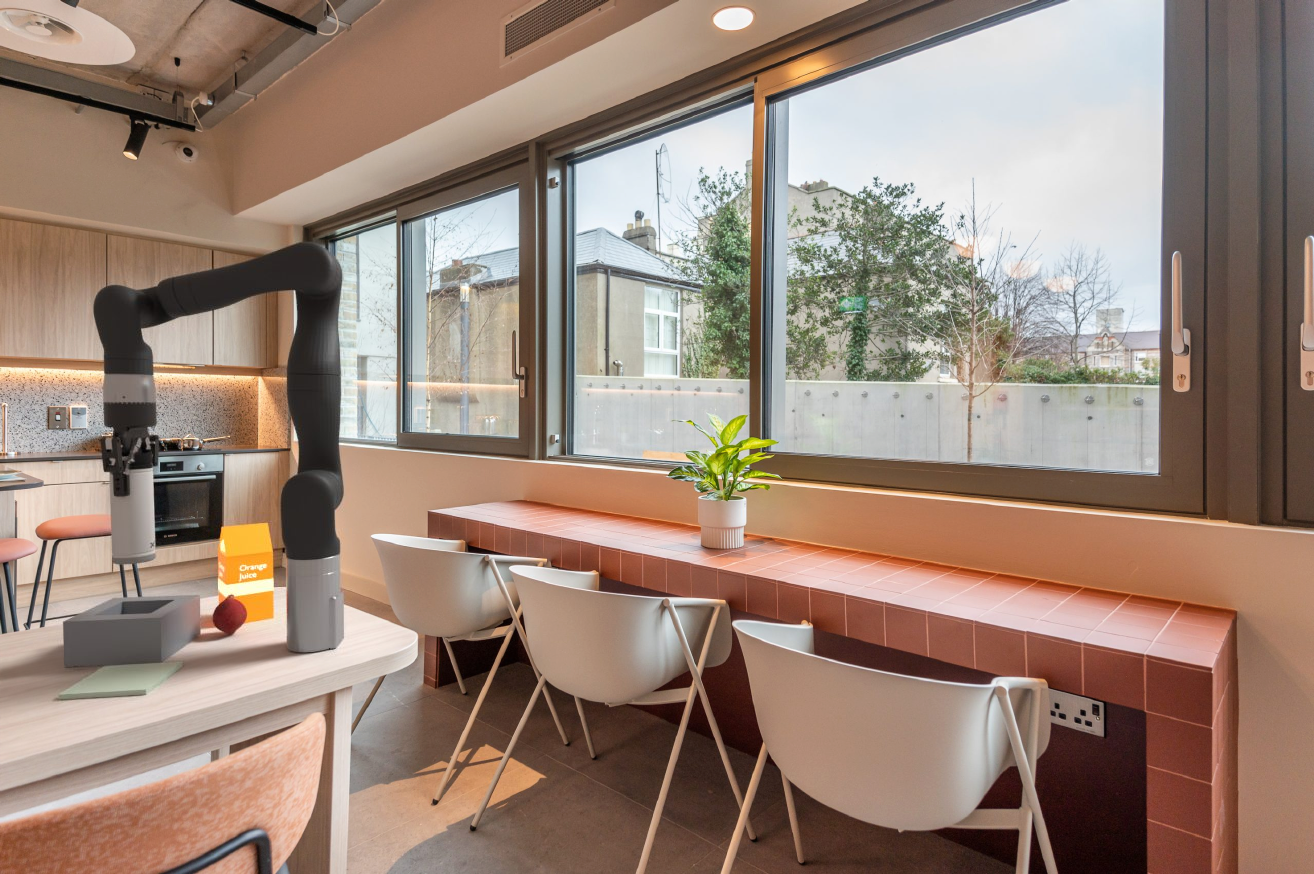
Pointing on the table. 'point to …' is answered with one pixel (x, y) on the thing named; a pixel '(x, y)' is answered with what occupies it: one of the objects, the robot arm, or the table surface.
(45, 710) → the table surface
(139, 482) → the travel mug
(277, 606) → the table surface
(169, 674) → the mat
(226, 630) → the onion
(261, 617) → the orange juice
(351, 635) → the table surface
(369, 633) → the table surface
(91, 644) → the holder
